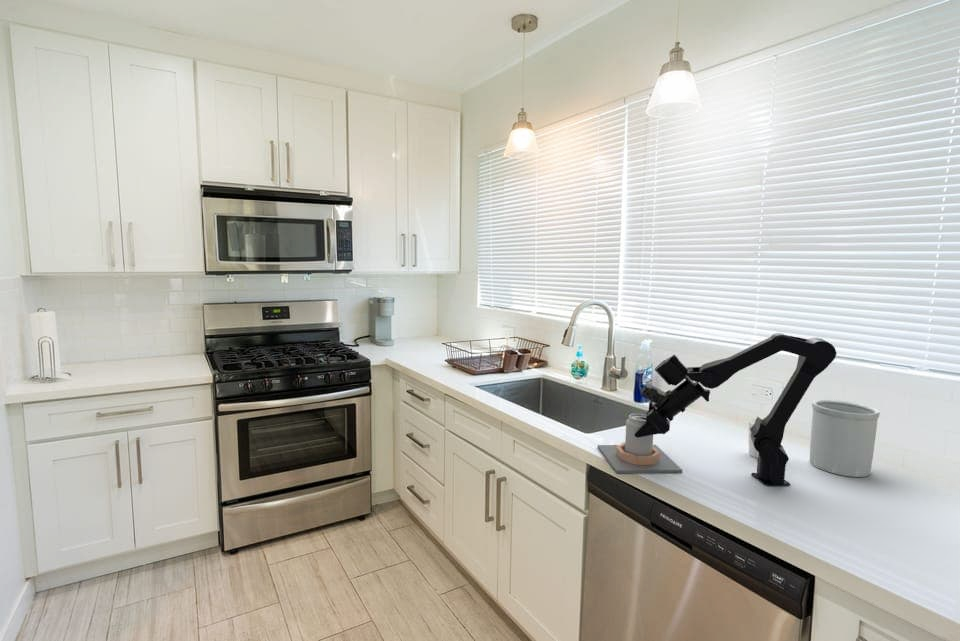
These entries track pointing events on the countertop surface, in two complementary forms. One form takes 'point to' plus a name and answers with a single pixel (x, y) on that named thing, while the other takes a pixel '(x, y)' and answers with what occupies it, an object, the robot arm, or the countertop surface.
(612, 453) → the seat plate
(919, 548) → the countertop surface
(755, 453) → the white cup
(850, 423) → the utensil holder
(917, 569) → the countertop surface
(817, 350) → the robot arm
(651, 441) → the can
